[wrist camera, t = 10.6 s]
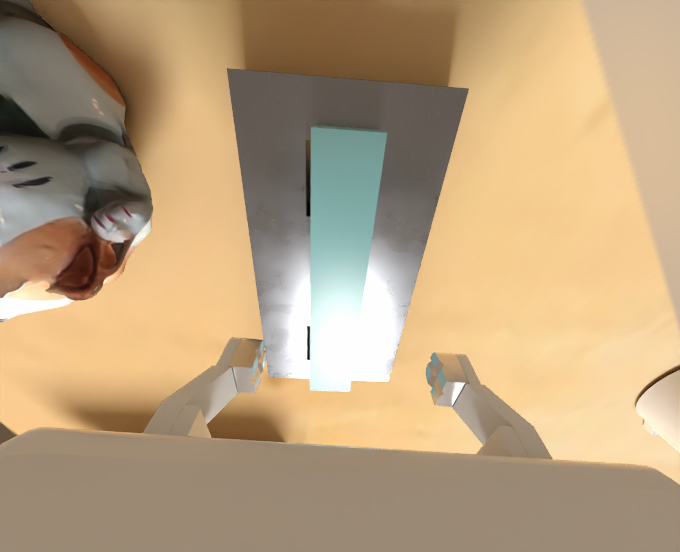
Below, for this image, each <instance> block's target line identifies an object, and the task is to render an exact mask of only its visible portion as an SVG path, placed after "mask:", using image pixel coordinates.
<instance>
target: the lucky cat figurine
mask: <svg viewBox="0 0 680 552" xmlns="http://www.w3.org/2000/svg"><path fill="white" fill-rule="evenodd" d="M125 109H126V106H125V101H124V99H123V97H122V95H121V93H120V91H119V89H118V87H117V85H116V84H115V82H114V80H113V79H112V78H111V76H110V75H109V74H107V73H106V72H105V71H104V70H103V69H102V68H101V67H100V66H99V65H98V64H96V63H95V62H94V61H93V60H92V59H91V58H90V57H89V56H87V55H86V54H85V53H84V52H83V51H82V50H80V49H79V48H78V47H77V46H76V45H75V44H74V43H73V42H72V41H71V40H70V39H69V38H68V37H66V36H65V35H64V34H62V33H59V32H56V31H55V30H54V29H53V28H52V27H51V26H50V25H49V24H47V23H46V22H45V21H44V20H43V19H42V18H41V17H40V16H39V15H38V14H37V13H36V12H35V10H34V8H33V6H32V5H31V3H30V1H29V0H0V322H2V321H5V320H8V319H10V318H12V317H14V316H17V315H21V314H26V313H31V312H37V311H42V310H47V309H52V308H57V307H61V306H66V305H68V304H70V303H71V302H73V301H74V300H86V299H89V298H92V297H93V296H95V295H96V294H97V293H98V292H99V291H100V290H101V288H102V286H104V285H107V284H109V283H111V282H113V281H114V280H116V279H117V278H118V277H119V276H120V275H121V274H122V273H123V272H124V268H125V265H126V262H127V259H128V258H129V256H130V255H131V253H132V252H133V250H134V249H135V248H136V246H137V245H138V244H139V243H140V242H141V241H142V240H143V239H144V238H145V237H146V236H147V235H148V234H149V232H150V230H151V227H152V212H153V206H152V198H151V192H150V188H149V186H148V183H147V181H146V179H145V176H144V174H143V173H142V169H141V166H140V164H139V162H138V160H137V158H136V157H137V156H136V153H135V151H134V149H133V147H132V145H131V143H130V140H129V137H128V134H127V131H126V128H125V125H124V118H125Z"/></svg>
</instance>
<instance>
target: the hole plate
mask: <svg viewBox="0 0 680 552" xmlns="http://www.w3.org/2000/svg"><path fill="white" fill-rule="evenodd" d="M227 73H228V80H229V87H230V95H231V102H232V110H233V117H234V124H235V132H236V139H237V146H238V154H239V161H240V168H241V176H242V183H243V190H244V198H245V205H246V213H247V220H248V227H249V235H250V242H251V249H252V257H253V264H254V271H255V279H256V286H257V294H258V301H259V308H260V316H261V323H262V330H263V338H264V342H265V351H266V360H267V367H268V374H269V377H282V378H307V379H310V223H311V127H312V126H314V125H324V126H338V127H351V128H364V129H377V130H382V131H384V132H386V133H387V139H386V145H385V152H384V159H383V166H382V173H381V180H380V187H379V194H378V200H377V207H376V214H375V221H374V228H373V235H372V242H371V248H370V255H369V262H368V269H367V276H366V283H365V290H364V297H363V303H362V310H361V317H360V324H359V331H358V338H357V345H356V351H355V358H354V365H353V372H352V379H351V380H356V381H381V382H388V381H389V378H390V374H391V370H392V367H393V363H394V359H395V356H396V352H397V348H398V345H399V341H400V338H401V334H402V330H403V327H404V323H405V319H406V316H407V312H408V308H409V305H410V301H411V298H412V294H413V290H414V287H415V283H416V279H417V276H418V272H419V268H420V265H421V261H422V257H423V254H424V250H425V247H426V243H427V239H428V236H429V232H430V228H431V225H432V221H433V217H434V214H435V210H436V206H437V203H438V199H439V196H440V192H441V188H442V185H443V181H444V177H445V174H446V170H447V166H448V163H449V159H450V155H451V152H452V148H453V145H454V141H455V137H456V134H457V130H458V126H459V123H460V119H461V115H462V112H463V108H464V104H465V101H466V97H467V94H468V90H469V89H466V88H454V87H442V86H431V85H419V84H407V83H395V82H383V81H371V80H359V79H347V78H335V77H323V76H311V75H299V74H287V73H275V72H263V71H251V70H239V69H227Z"/></svg>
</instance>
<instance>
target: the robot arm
mask: <svg viewBox="0 0 680 552" xmlns="http://www.w3.org/2000/svg"><path fill="white" fill-rule="evenodd" d="M264 347H265V342H264V340H257V339H247V338H236V337H232V338H231V339H230V340H229V341H228V343H227V345H226V347H225V349H224V351H223V353H222V355H221V357H220V359H219V361H218V363H217V365H216V366H211V367H210V368H209V369H207V370H206V371H204V372H203V373H202V374H200V375H199V376H197V377H196V378H195V379H193V380H192V381H190V382H189V383H188V384H186V385H185V386H183V387H182V388H181V389H179V390H178V391H176V392H175V393H174V394H172V395H171V396H170V397H168V398H167V399H165V400H164V401H163V402H162V403H161V404H160V406H159V407H158V409H157V411H156V412H155V414H154V415H153V417H152V418H151V420H150V422H149V423H148V425H147V426H146V428H145V429H144V431H143V433H128V432H112V431H97V430H81V429H66V428H52V427H40V428H35V429H32V430H29V431H27V432H25V433H23V434H20V435H18V436H16V437H14V438H12V439H10V440H9V441H7V442H5V443H3V444H1V445H0V552H680V485H679V484H678V483H676V482H675V481H673V480H672V479H670V478H669V477H667V476H666V475H664V474H663V473H661V472H660V471H658V470H656V469H654V468H652V467H648V466H644V465H635V464H619V463H603V462H587V461H571V460H555V459H552V457H551V455H550V454H549V452H548V450H547V449H546V447H545V445H544V443H543V442H542V440H541V438H540V437H539V435H538V433H537V432H536V430H535V428H534V427H533V426H532V425H531V424H530V423H528V422H527V421H526V420H525V419H524V418H523V417H521V416H520V415H519V414H518V413H517V412H515V411H514V410H513V409H512V408H511V407H510V406H508V405H507V404H506V403H505V402H504V401H503V400H501V399H500V398H499V397H498V396H497V395H495V394H494V393H493V392H492V391H491V390H490V389H488V388H487V387H486V386H485V385H481V383H480V381H479V379H478V377H477V375H476V373H475V371H474V369H473V367H472V365H471V363H470V361H469V359H468V357H467V356H466V355H462V354H450V353H433V354H432V356H431V360H432V361H431V362H430V363H428V365H427V368H426V378H427V382H428V384H429V385H430V386H431V387H432V390H431V395H432V398H433V402H434V405H438V406H448V407H453V409H454V410H455V412H456V413H457V414H458V415H459V416H460V418H461V419H462V420H463V421H464V422H465V424H466V425H467V426H468V427H469V428H470V430H471V431H472V432H473V433H474V434H475V436H476V437H477V438H478V439H479V440H480V442H481V443H482V444H483V446H482V447H481V449H480V450H479V451H478V452H477V454H460V453H444V452H428V451H412V450H397V449H381V448H365V447H349V446H333V445H317V444H302V443H286V442H270V441H254V440H238V439H222V438H212V437H211V435H210V432H209V430H208V427H207V424H208V423H209V422H210V421H211V420H212V419H213V418H214V417H215V416H216V415H217V414H218V413H219V412H220V411H221V410H222V409H223V408H224V407H225V406H226V405H227V404H228V403H229V402H230V401H231V400H232V398H233V397H234V396H235V395H236V394H237V392H245V393H256V392H257V389H258V386H259V383H260V374H261V373H262V372H263V370H264V367H265V362H266V351H265V350H264ZM636 412H637V413H638V415H639V416H641V417H642V418H643V419H644V420H645V421H644V428H645V429H646V430H647V431H648V432H649V433H650V434H652V435H654V436H662V437H663V438H664V439H665V440H666V441H667V442H668V443H670V444H671V445H672V446H673V447H674V448H675V449H676V450H677V451H678V452H680V370H678V371H676V372H674V373H672V374H670V375H668V376H667V377H665V378H663V379H662V380H660V381H659V382H657V383H656V384H654V385H653V386H652V387H650V388H649V389H648V390H647V391H646V392H645V393H644V394H643V395H642V396H641V397H640V399H639V400H638V402H637V404H636Z"/></svg>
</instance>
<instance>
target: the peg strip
mask: <svg viewBox="0 0 680 552" xmlns="http://www.w3.org/2000/svg"><path fill="white" fill-rule="evenodd" d="M386 139H387V133H386V132H384V131H382V130H377V129H364V128H351V127H338V126H324V125H314V126H312V127H311V223H310V390H318V391H344V392H350V386H351V379H352V372H353V365H354V358H355V351H356V345H357V338H358V331H359V324H360V317H361V310H362V303H363V297H364V290H365V283H366V276H367V269H368V262H369V255H370V248H371V242H372V235H373V228H374V221H375V214H376V207H377V200H378V194H379V187H380V180H381V173H382V166H383V159H384V152H385V145H386Z"/></svg>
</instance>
